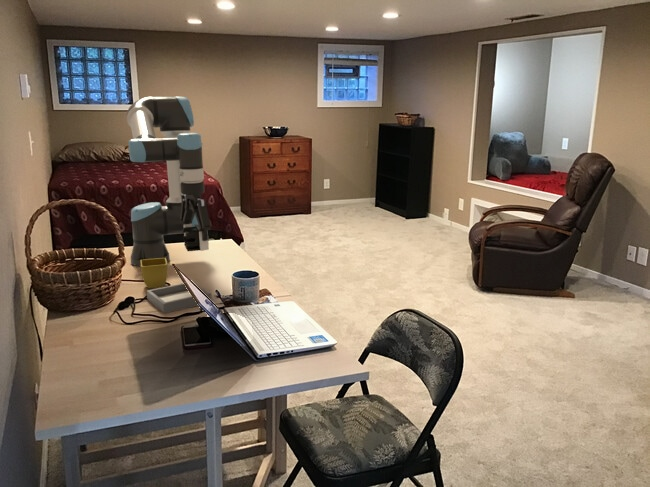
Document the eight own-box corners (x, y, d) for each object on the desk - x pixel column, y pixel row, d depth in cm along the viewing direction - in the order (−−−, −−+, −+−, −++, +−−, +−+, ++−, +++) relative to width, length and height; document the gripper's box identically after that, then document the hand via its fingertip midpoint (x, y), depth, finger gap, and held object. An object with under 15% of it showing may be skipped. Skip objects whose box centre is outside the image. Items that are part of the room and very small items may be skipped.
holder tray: (147, 299, 188) (146, 290, 188) (192, 289, 197) (192, 281, 197) (163, 313, 177) (163, 303, 176) (211, 302, 186) (210, 293, 185)
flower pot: (167, 280, 207) (165, 257, 204) (169, 288, 199) (167, 264, 196) (142, 283, 204) (140, 259, 202) (143, 291, 196) (140, 266, 194)
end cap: (209, 249, 187) (208, 229, 186) (187, 252, 185) (186, 231, 183) (205, 242, 196) (203, 223, 195) (184, 244, 194) (182, 225, 192)
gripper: (166, 178, 192) (171, 241, 197) (197, 187, 174) (201, 255, 179) (187, 176, 196) (191, 237, 202) (219, 184, 178) (223, 251, 184)
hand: (196, 246), depth 190 cm, fingers closed on end cap, 11 cm apart
